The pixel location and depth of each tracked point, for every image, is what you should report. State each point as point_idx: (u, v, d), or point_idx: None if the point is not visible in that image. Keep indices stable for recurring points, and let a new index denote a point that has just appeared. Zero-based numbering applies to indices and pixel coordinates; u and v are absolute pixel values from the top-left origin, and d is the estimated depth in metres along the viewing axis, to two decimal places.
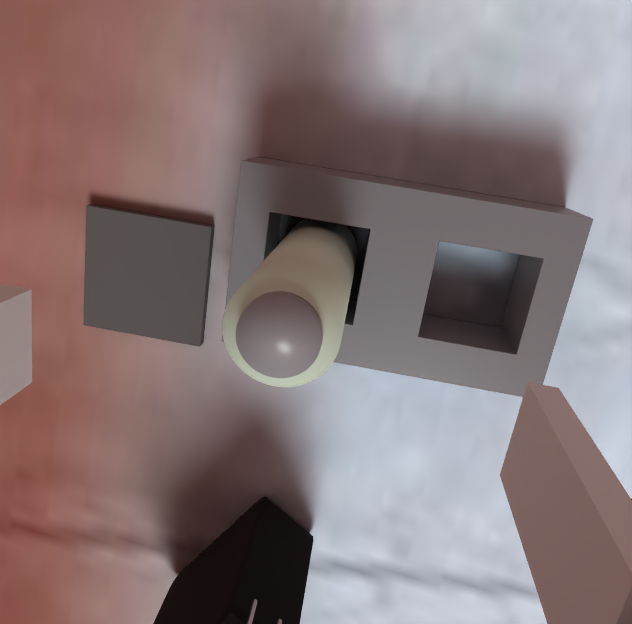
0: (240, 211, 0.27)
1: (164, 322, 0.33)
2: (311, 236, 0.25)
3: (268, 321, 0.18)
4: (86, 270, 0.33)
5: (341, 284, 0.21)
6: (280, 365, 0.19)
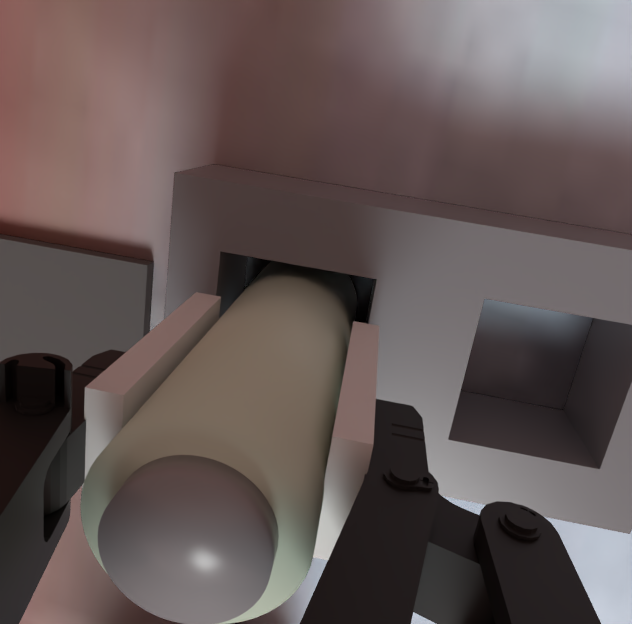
0: (176, 250, 0.18)
1: None
2: (279, 298, 0.15)
3: (161, 522, 0.09)
4: None
5: (322, 404, 0.12)
6: (190, 602, 0.09)
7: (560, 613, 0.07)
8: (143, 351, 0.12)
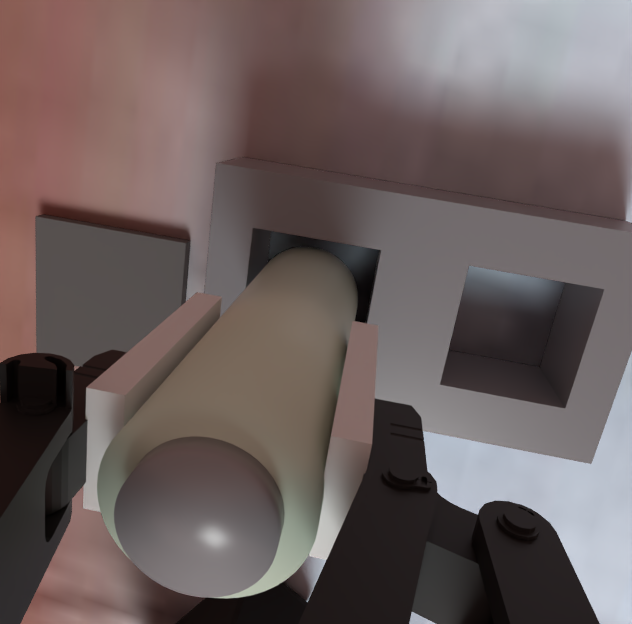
0: (216, 227, 0.21)
1: None
2: (282, 291, 0.16)
3: (174, 500, 0.09)
4: (37, 293, 0.27)
5: (324, 390, 0.12)
6: (202, 576, 0.10)
7: (558, 612, 0.07)
8: (144, 351, 0.12)
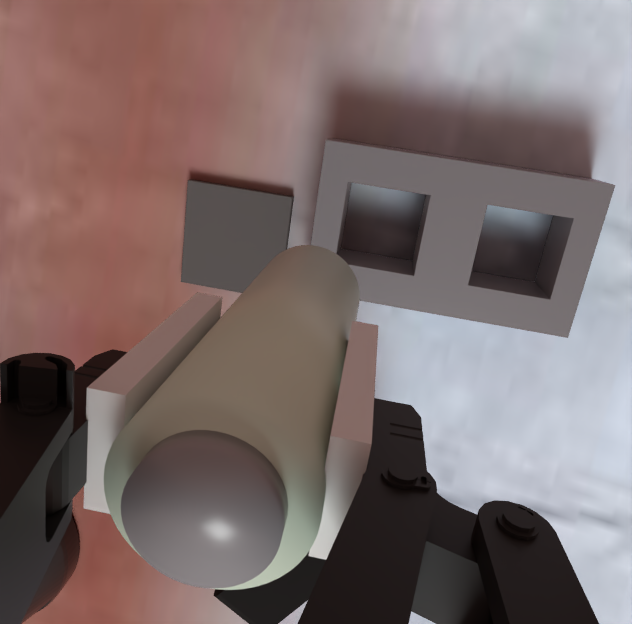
0: (323, 181, 0.33)
1: (249, 279, 0.39)
2: (285, 288, 0.16)
3: (180, 492, 0.10)
4: (184, 235, 0.39)
5: (327, 386, 0.13)
6: (207, 567, 0.10)
7: (558, 612, 0.07)
8: (145, 351, 0.12)
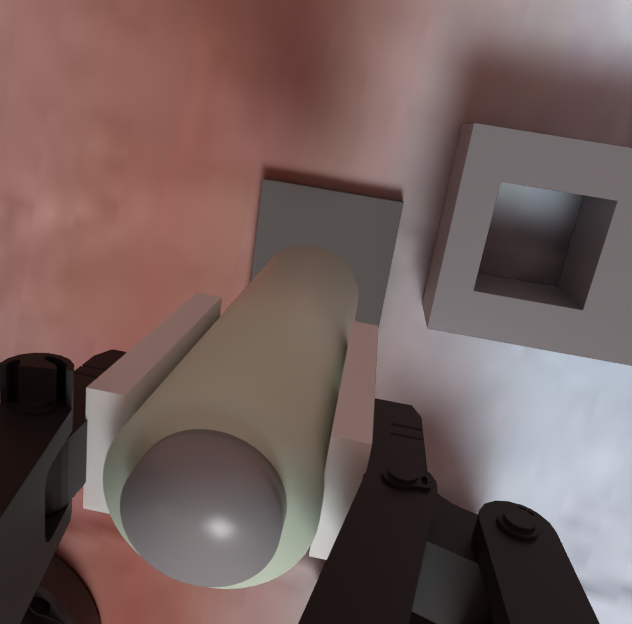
0: (466, 181, 0.24)
1: None
2: (284, 288, 0.16)
3: (179, 491, 0.10)
4: (254, 251, 0.30)
5: (326, 385, 0.13)
6: (206, 566, 0.10)
7: (558, 612, 0.07)
8: (144, 351, 0.12)
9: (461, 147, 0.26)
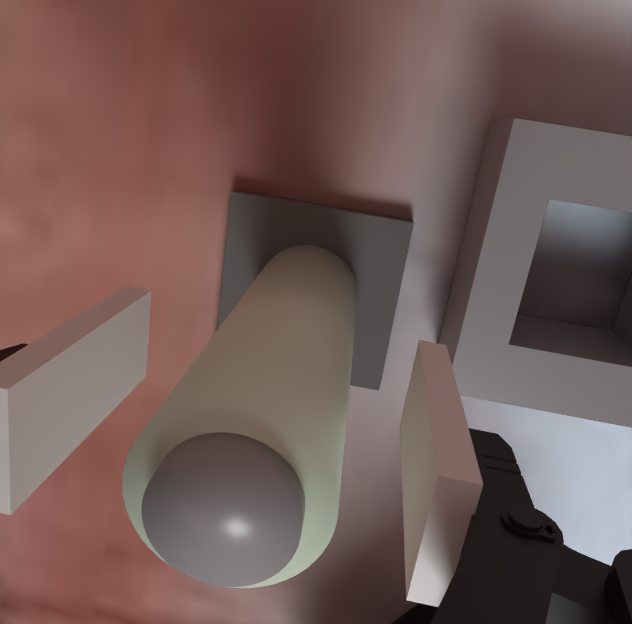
0: (502, 198, 0.17)
1: None
2: (289, 289, 0.16)
3: (200, 493, 0.10)
4: (222, 283, 0.23)
5: (336, 386, 0.13)
6: (227, 566, 0.10)
7: None
8: (46, 345, 0.12)
9: (492, 151, 0.19)
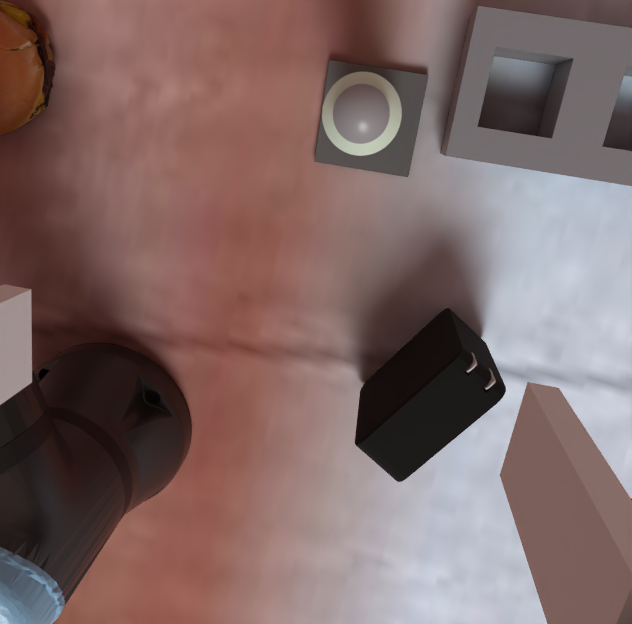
0: (473, 47, 0.36)
1: (381, 157, 0.42)
2: None
3: (354, 102, 0.28)
4: (321, 115, 0.42)
5: None
6: (361, 134, 0.29)
7: None
8: None
9: (469, 30, 0.38)
